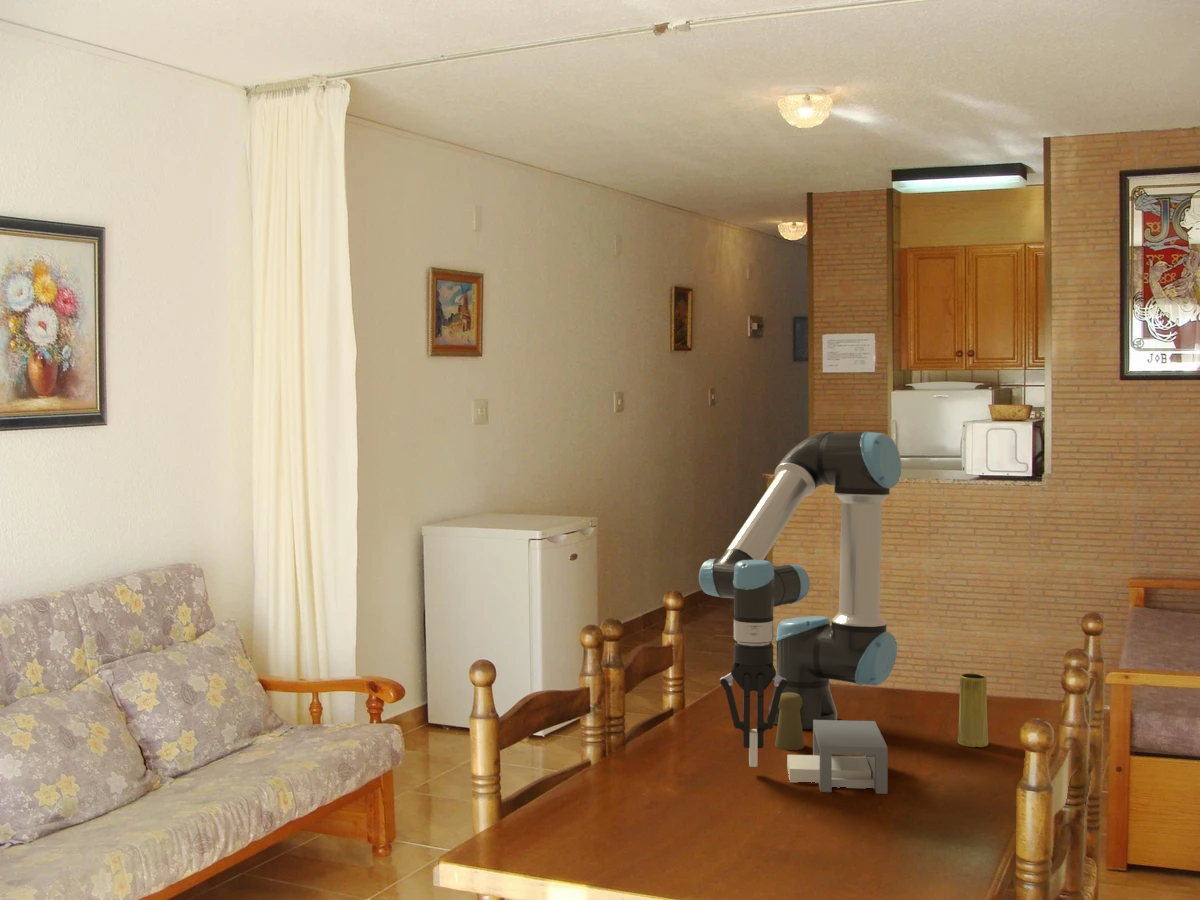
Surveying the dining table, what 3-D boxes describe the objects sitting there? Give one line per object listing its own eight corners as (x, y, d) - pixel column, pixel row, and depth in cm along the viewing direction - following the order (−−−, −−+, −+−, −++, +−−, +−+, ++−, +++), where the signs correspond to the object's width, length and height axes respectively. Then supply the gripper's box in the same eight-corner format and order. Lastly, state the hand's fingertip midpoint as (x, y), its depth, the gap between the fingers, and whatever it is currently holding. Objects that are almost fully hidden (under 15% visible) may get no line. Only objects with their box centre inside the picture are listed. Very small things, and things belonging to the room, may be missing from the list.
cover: (787, 769, 231) (787, 754, 230) (865, 772, 229) (865, 756, 229) (789, 784, 222) (789, 768, 222) (871, 787, 220) (871, 771, 220)
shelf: (813, 762, 234) (813, 719, 233) (874, 763, 233) (875, 721, 232) (820, 791, 216) (820, 745, 216) (887, 793, 215) (887, 747, 214)
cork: (803, 742, 248) (803, 690, 247) (805, 750, 242) (805, 697, 241) (774, 741, 248) (774, 689, 248) (775, 749, 242) (775, 696, 242)
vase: (992, 747, 243) (992, 679, 242) (962, 747, 243) (962, 679, 243) (983, 739, 249) (983, 672, 249) (953, 739, 249) (954, 672, 249)
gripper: (719, 645, 222) (719, 769, 223) (789, 646, 221) (789, 771, 222) (718, 637, 229) (718, 758, 230) (786, 638, 228) (786, 759, 229)
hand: (753, 764), depth 226 cm, fingers closed
